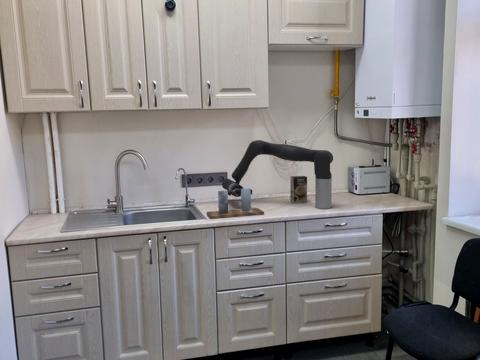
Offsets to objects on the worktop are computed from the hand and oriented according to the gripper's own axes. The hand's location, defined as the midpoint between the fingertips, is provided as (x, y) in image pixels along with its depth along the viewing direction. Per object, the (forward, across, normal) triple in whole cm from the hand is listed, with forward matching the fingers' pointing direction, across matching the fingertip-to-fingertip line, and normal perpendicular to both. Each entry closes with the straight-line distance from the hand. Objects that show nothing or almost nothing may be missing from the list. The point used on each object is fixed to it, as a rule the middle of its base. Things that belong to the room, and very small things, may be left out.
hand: (242, 194), depth 249 cm
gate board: (+7, -6, +10) cm, 14 cm away
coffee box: (-14, +40, +10) cm, 43 cm away
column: (+7, 0, +8) cm, 11 cm away
